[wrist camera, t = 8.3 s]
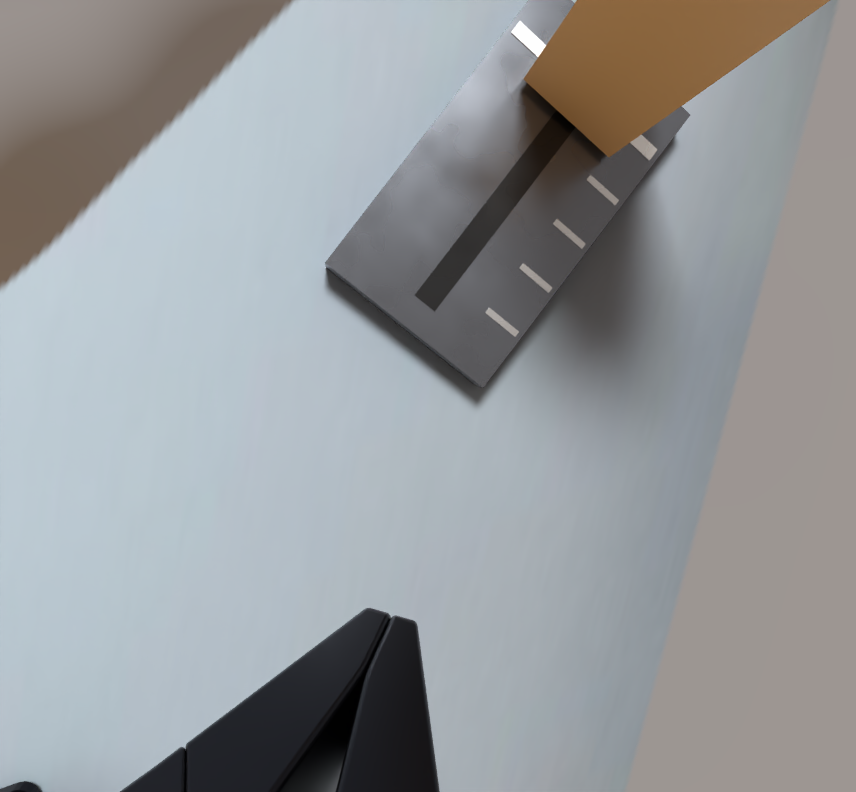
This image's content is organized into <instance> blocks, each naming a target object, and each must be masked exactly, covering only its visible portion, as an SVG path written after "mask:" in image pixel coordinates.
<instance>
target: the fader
mask: <svg viewBox="0 0 856 792" xmlns="http://www.w3.org/2000/svg"><path fill="white" fill-rule="evenodd" d="M829 1H830V0H577V1H576V2H575V4H574V5H573V7H572V8H571V10H570V11H569V13H568V14H567V16H566V17H565V19H564V20H563V22H562V23H561V24H560V26H559V27H558V29H557V30H556V32H555V33H554V35H553V36H552V38H551V39H550V41H549V42H548V44H547V45H546V47H545V48H544V49H543V51H542V52H541V54H540V55H539V57H538V58H537V60H536V61H535V63H534V64H533V66H532V67H531V69H530V70H529V71H528V73H527V74H526V76H525V77H524V80H525V81H526V82H527V83H528V84H529V85H530V86H531V87H532V88H533V89H535V90H536V91H537V92H538V93H539V94H540V95H541V96H542V97H543V98H544V99H545V100H547V101H548V102H549V103H550V104H551V105H552V106H553V107H554V108H555V109H556V110H557V111H559V112H560V113H561V114H562V115H563V116H564V117H565V118H566V119H567V120H568V121H569V122H571V123H572V124H573V125H574V126H575V127H576V128H577V129H578V130H579V131H580V132H582V133H583V134H584V135H585V136H586V137H587V138H588V139H589V140H590V141H591V142H592V143H594V144H595V145H596V146H597V147H598V148H599V149H600V150H601V151H602V152H603V153H604V154H606V155H607V156H608V157H610V156H612V155H613V154H615V153H616V152H617V151H619V150H620V149H622V148H623V147H624V146H626V145H627V144H629V143H630V142H631V141H633V140H634V139H636V138H637V137H638V136H640V135H641V134H643V133H644V132H646V131H647V130H648V129H650V128H651V127H653V126H654V125H655V124H657V123H658V122H660V121H661V120H662V119H664V118H665V117H667V116H668V115H669V114H671V113H672V112H674V111H675V110H676V109H678V108H679V107H681V106H682V105H684V104H685V103H686V102H688V101H689V100H691V99H692V98H693V97H695V96H696V95H698V94H699V93H700V92H702V91H703V90H705V89H706V88H707V87H709V86H710V85H712V84H713V83H714V82H716V81H717V80H719V79H720V78H722V77H723V76H724V75H726V74H727V73H729V72H730V71H731V70H733V69H734V68H736V67H737V66H738V65H740V64H741V63H743V62H744V61H745V60H747V59H748V58H750V57H751V56H753V55H754V54H755V53H757V52H758V51H760V50H761V49H762V48H764V47H765V46H767V45H768V44H769V43H771V42H772V41H774V40H775V39H776V38H778V37H779V36H781V35H782V34H783V33H785V32H786V31H788V30H789V29H791V28H792V27H793V26H795V25H796V24H798V23H799V22H800V21H802V20H803V19H805V18H806V17H807V16H809V15H810V14H812V13H813V12H814V11H816V10H817V9H819V8H820V7H821V6H823V5H824V4H826V3H827V2H829Z"/></svg>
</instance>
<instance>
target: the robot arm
mask: <svg viewBox="0 0 856 792" xmlns="http://www.w3.org/2000/svg"><path fill="white" fill-rule="evenodd" d="M0 792H39V790H38V788H37V787H36V785H34V784H32V783H31V782H25V781H24V782H19V783H16V784H13V785H10V786H7V787H5V788H2V789H0ZM120 792H439V784H438V777H437V769H436V762H435V754H434V747H433V739H432V732H431V724H430V717H429V709H428V702H427V694H426V687H425V679H424V672H423V664H422V657H421V649H420V641H419V634H418V627H417V623H416V622H415V621H413V620H410V619H406V618H403V617H400V616H393V617H392V618H391V617H390V615H389V614H388V613H386V612H382V611H379V610H375V609H372V608H366V609H365V610H363V611H362V612H360V613H359V614H358V615H356V616H355V617H354V618H352V619H351V620H350V621H349V622H347V623H346V624H345V625H343V626H342V627H341V628H339V629H338V630H337V631H335V632H334V633H333V634H331V635H330V636H329V637H327V638H326V639H325V640H323V641H322V642H321V643H319V644H318V645H317V646H315V647H314V648H313V649H311V650H310V651H309V652H307V653H306V654H305V655H303V656H302V657H301V658H299V659H298V660H297V661H296V662H294V663H293V664H292V665H290V666H289V667H288V668H286V669H285V670H284V671H282V672H281V673H280V674H278V675H277V676H276V677H274V678H273V679H272V680H270V681H269V682H268V683H266V684H265V685H264V686H262V687H261V688H260V689H258V690H257V691H256V692H254V693H253V694H252V695H250V696H249V697H248V698H246V699H245V700H244V701H243V702H241V703H240V704H239V705H237V706H236V707H235V708H233V709H232V710H231V711H229V712H228V713H227V714H225V715H224V716H223V717H221V718H220V719H219V720H217V721H216V722H215V723H213V724H212V725H211V726H209V727H208V728H207V729H205V730H204V731H203V732H201V733H200V734H199V735H197V736H196V737H195V738H193V739H192V740H191V741H190V742H188V743H187V744H186V751H185V748H184V747H180V748H179V749H178V750H176V751H175V752H174V753H172V754H171V755H170V756H168V757H167V758H166V759H164V760H163V761H162V762H160V763H159V764H158V765H157V766H155V767H154V768H152V769H151V770H150V771H148V772H147V773H145V774H144V775H143V776H141V777H140V778H138V779H137V780H136V781H134V782H133V783H131V784H130V785H129V786H127V787H126V788H124V789H123V790H122V791H120Z"/></svg>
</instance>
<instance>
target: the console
mask: <svg viewBox="0 0 856 792" xmlns="http://www.w3.org/2000/svg"><path fill="white" fill-rule="evenodd" d="M574 4H575V3H573V2H572V1H571V0H528V1H527V3H526V4H525V5H524V7H523V8H522V9H521V10H520V12H519V13H518V14H517V16H516V17H515V18H514V19H513V21H512V22H511V23H510V25H509V26H508V27H507V29H506V30H505V31H504V32H503V34H502V35H501V36H500V38H499V39H498V40H497V41H496V43H495V44H494V45H493V47H492V48H491V49H490V50H489V52H488V53H487V54H486V56H485V57H484V58H483V60H482V61H481V62H480V63H479V65H478V66H477V67H476V69H475V70H474V71H473V72H472V74H471V75H470V76H469V78H468V79H467V80H466V81H465V83H464V84H463V85H462V87H461V88H460V89H459V91H458V92H457V93H456V94H455V96H454V97H453V98H452V100H451V101H450V102H449V103H448V105H447V106H446V107H445V109H444V110H443V111H442V112H441V114H440V115H439V116H438V118H437V119H436V120H435V121H434V123H433V124H432V125H431V127H430V128H429V129H428V131H427V132H426V133H425V134H424V136H423V137H422V138H421V140H420V141H419V142H418V143H417V145H416V146H415V147H414V149H413V150H412V151H411V152H410V154H409V155H408V156H407V158H406V159H405V160H404V162H403V163H402V164H401V165H400V167H399V168H398V169H397V171H396V172H395V173H394V174H393V176H392V177H391V178H390V180H389V181H388V182H387V183H386V185H385V186H384V187H383V189H382V190H381V191H380V193H379V194H378V195H377V196H376V198H375V199H374V200H373V202H372V203H371V204H370V205H369V207H368V208H367V209H366V211H365V212H364V213H363V214H362V216H361V217H360V218H359V220H358V221H357V222H356V224H355V225H354V226H353V227H352V229H351V230H350V231H349V233H348V234H347V235H346V236H345V238H344V239H343V240H342V242H341V243H340V244H339V245H338V247H337V248H336V249H335V251H334V252H333V253H332V255H331V256H330V257H329V258H328V260H327V261H326V262H325V265H326V267H327V268H328V269H329V270H330V271H332V272H333V273H334V274H335V275H337V276H338V277H339V278H341V279H342V280H343V281H344V282H346V283H347V284H348V285H349V286H351V287H352V288H353V289H354V290H356V291H357V292H358V293H360V294H361V295H362V296H363V297H365V298H366V299H367V300H368V301H370V302H371V303H372V304H374V305H375V306H376V307H377V308H379V309H380V310H381V311H382V312H384V313H385V314H386V315H388V316H389V317H390V318H391V319H393V320H394V321H395V322H396V323H398V324H399V325H400V326H401V327H403V328H404V329H405V330H407V331H408V332H409V333H410V334H412V335H413V336H414V337H415V338H417V339H418V340H419V341H421V342H422V343H423V344H424V345H426V346H427V347H428V348H429V349H431V350H432V351H433V352H435V353H436V354H437V355H438V356H440V357H441V358H442V359H443V360H445V361H446V362H447V363H448V364H450V365H451V366H452V367H454V368H455V369H456V370H457V371H459V372H460V373H461V374H462V375H464V376H465V377H466V378H468V379H469V380H470V381H471V382H473V383H474V384H475V385H476V386H479V387H484V386H485V385H486V383H487V382H488V381H489V379H490V378H491V377H492V375H493V374H494V373H495V372H496V370H497V369H498V368H499V366H500V365H501V364H502V362H503V361H504V360H505V358H506V357H507V356H508V354H509V353H510V352H511V350H512V349H513V348H514V347H515V345H516V344H517V343H518V341H519V340H520V339H521V337H522V336H523V335H524V333H525V332H526V331H527V329H528V328H529V327H530V325H531V324H532V323H533V322H534V320H535V319H536V318H537V316H538V315H539V314H540V312H541V311H542V310H543V308H544V307H545V306H546V304H547V303H548V302H549V300H550V299H551V298H552V296H553V295H554V294H555V293H556V291H557V290H558V289H559V287H560V286H561V285H562V283H563V282H564V281H565V279H566V278H567V277H568V275H569V274H570V273H571V271H572V270H573V269H574V268H575V266H576V265H577V264H578V262H579V261H580V260H581V258H582V257H583V256H584V254H585V253H586V252H587V250H588V249H589V248H590V246H591V245H592V244H593V243H594V241H595V240H596V239H597V237H598V236H599V235H600V233H601V232H602V231H603V229H604V228H605V227H606V225H607V224H608V223H609V221H610V220H611V219H612V218H613V216H614V215H615V214H616V212H617V211H618V210H619V208H620V207H621V206H622V204H623V203H624V202H625V200H626V199H627V198H628V196H629V195H630V194H631V192H632V191H633V190H634V189H635V187H636V186H637V185H638V183H639V182H640V181H641V179H642V178H643V177H644V175H645V174H646V173H647V171H648V170H649V169H650V167H651V166H652V165H653V164H654V162H655V161H656V160H657V158H658V157H659V156H660V154H661V153H662V152H663V150H664V149H665V148H666V146H667V145H668V144H669V142H670V141H671V140H672V139H673V137H674V136H675V135H676V133H677V132H678V131H679V129H680V128H681V127H682V125H683V124H684V123H685V121H686V120H687V119H688V117H689V116H690V114H689V113H688V112H687V111H686V110H685V109H684V108H683V107H682V106H681V107H679V108H678V109H676V110H675V111H674V112H672V113H671V114H669V115H668V116H667V117H665V118H664V119H662V120H661V121H660V122H658V123H657V124H655V125H654V126H653V127H651V128H650V129H648V130H647V131H646V132H644V133H643V134H641V135H640V136H638V137H637V138H636V139H634V140H633V141H631V142H630V143H629V144H627V145H626V146H624V147H623V148H622V149H620V150H619V151H617V152H616V153H615V154H613V155H612V156H610V157H608V156H607V155H606V154H604V153H603V152H602V151H601V150H600V149H599V148H598V147H597V146H596V145H595V144H594V143H592V142H591V141H590V140H589V139H588V138H587V137H586V136H585V135H584V134H583V133H582V132H580V131H579V130H578V129H577V128H576V127H575V126H574V125H573V124H572V123H571V122H569V121H568V120H567V119H566V118H565V117H564V116H563V115H562V114H561V113H560V112H559V111H557V110H556V109H555V108H554V107H553V106H552V105H551V104H550V103H549V102H548V101H547V100H545V99H544V98H543V97H542V96H541V95H540V94H539V93H538V92H537V91H536V90H535V89H533V88H532V87H531V86H530V85H529V84H528V83H527V82H526V81H525V80H524V77H525V76H526V74H527V73H528V71H529V70H530V69H531V67H532V66H533V64H534V63H535V61H536V60H537V58H538V57H539V55H540V54H541V52H542V51H543V49H544V48H545V47H546V45H547V44H548V42H549V41H550V39H551V38H552V36H553V35H554V33H555V32H556V30H557V29H558V27H559V26H560V24H561V23H562V22H563V20H564V19H565V17H566V16H567V14H568V13H569V11H570V10H571V8H572V7H573V5H574Z"/></svg>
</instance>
